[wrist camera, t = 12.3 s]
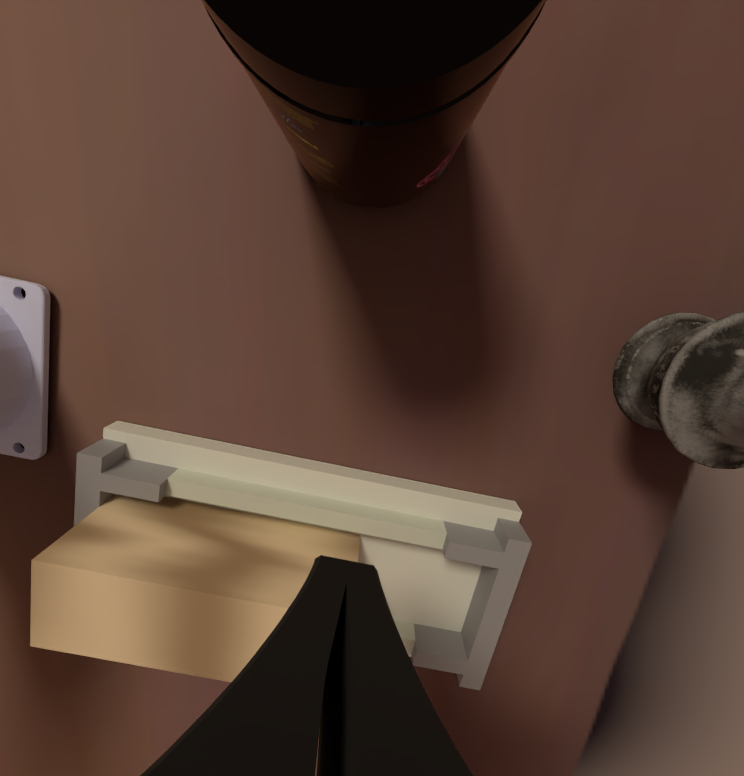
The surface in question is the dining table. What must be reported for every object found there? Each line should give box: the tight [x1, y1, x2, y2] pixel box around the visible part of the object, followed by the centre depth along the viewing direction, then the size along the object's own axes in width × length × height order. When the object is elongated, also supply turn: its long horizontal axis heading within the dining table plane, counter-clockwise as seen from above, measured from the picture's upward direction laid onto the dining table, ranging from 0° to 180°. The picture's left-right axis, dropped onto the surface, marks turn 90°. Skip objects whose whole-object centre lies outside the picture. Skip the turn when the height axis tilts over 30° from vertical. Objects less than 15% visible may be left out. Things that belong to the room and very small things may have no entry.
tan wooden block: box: [30, 494, 360, 682], centre depth 17 cm, size 11×4×5 cm, turn 78°
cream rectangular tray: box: [74, 421, 532, 690], centre depth 19 cm, size 19×9×3 cm, turn 78°
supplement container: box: [201, 0, 546, 208], centre depth 11 cm, size 7×7×10 cm
